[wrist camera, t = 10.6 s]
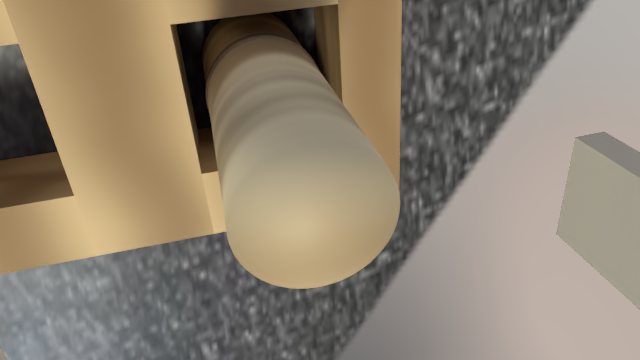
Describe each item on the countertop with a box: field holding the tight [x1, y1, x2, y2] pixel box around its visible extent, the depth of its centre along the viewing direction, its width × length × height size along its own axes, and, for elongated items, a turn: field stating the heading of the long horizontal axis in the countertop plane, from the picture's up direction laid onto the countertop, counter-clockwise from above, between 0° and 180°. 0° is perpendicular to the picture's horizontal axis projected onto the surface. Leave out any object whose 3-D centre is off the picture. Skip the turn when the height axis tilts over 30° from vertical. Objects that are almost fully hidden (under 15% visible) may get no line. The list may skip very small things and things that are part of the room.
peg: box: [202, 13, 400, 289], centre depth 17 cm, size 4×4×12 cm
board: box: [0, 0, 402, 274], centre depth 20 cm, size 20×11×4 cm, turn 94°
